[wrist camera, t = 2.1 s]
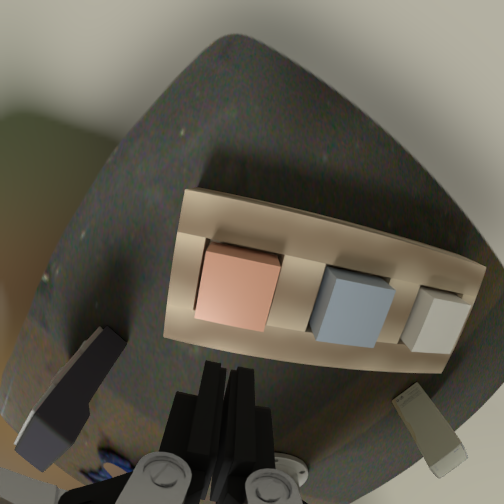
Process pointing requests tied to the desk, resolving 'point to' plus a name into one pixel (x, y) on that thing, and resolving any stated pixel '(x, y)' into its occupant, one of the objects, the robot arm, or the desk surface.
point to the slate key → (350, 308)
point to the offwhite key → (434, 321)
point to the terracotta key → (237, 286)
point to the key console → (308, 281)
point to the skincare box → (430, 431)
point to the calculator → (68, 400)
